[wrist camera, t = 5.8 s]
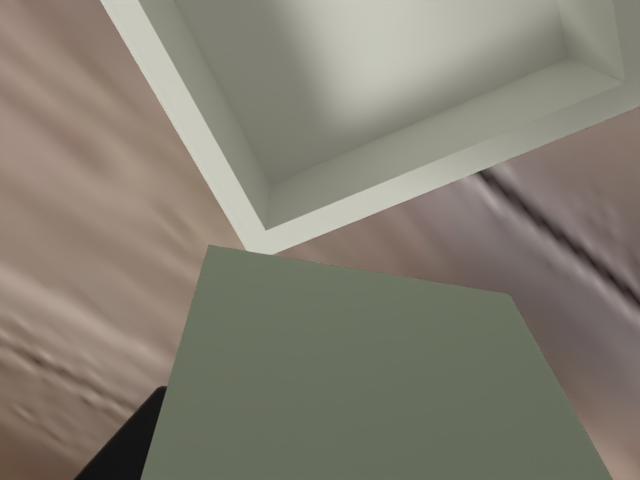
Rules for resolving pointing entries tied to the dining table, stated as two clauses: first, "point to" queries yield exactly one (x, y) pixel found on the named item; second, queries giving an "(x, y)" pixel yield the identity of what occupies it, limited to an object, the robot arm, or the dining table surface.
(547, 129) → the bin
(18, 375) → the dining table surface
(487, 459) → the green block
